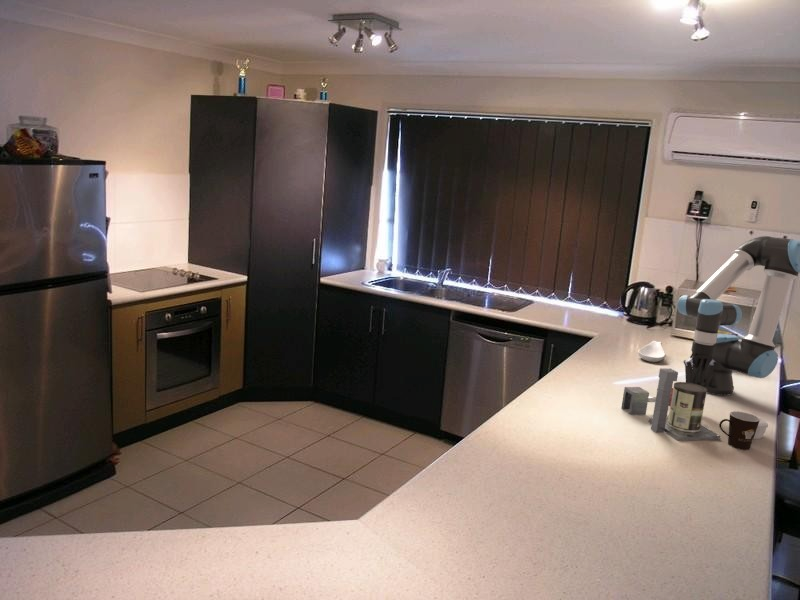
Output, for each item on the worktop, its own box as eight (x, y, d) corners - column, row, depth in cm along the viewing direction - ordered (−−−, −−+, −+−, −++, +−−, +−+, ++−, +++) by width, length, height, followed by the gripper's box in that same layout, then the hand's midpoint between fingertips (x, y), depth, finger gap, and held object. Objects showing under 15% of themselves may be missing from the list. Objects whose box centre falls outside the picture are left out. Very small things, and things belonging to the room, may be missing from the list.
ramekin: (764, 432, 227) (767, 418, 226) (766, 443, 217) (769, 428, 216) (728, 425, 232) (730, 410, 231) (728, 435, 222) (731, 420, 221)
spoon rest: (661, 366, 301) (664, 351, 300) (634, 360, 307) (637, 345, 305) (668, 355, 322) (671, 341, 320) (643, 350, 327) (646, 336, 326)
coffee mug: (751, 443, 216) (757, 414, 214) (756, 453, 208) (762, 423, 206) (712, 436, 220) (718, 407, 218) (715, 445, 212) (721, 416, 210)
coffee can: (696, 423, 227) (703, 384, 224) (703, 434, 217) (710, 393, 214) (664, 418, 229) (671, 379, 226) (670, 429, 219) (677, 389, 216)
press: (666, 408, 244) (676, 353, 239) (720, 439, 217) (731, 378, 213) (620, 408, 239) (628, 352, 235) (668, 440, 212) (679, 378, 208)
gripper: (712, 339, 243) (701, 400, 248) (681, 339, 240) (671, 401, 244) (727, 345, 236) (715, 408, 240) (695, 345, 232) (684, 408, 237)
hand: (692, 404), depth 242 cm, fingers closed
